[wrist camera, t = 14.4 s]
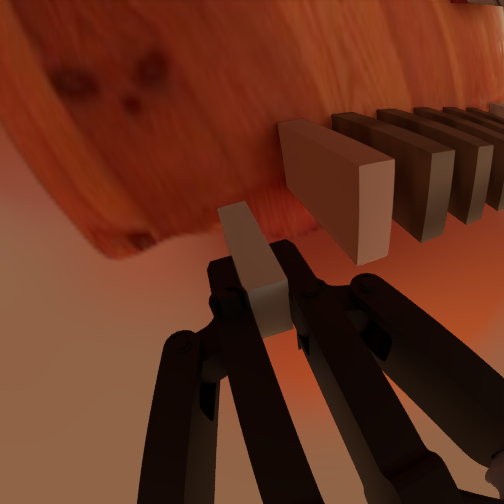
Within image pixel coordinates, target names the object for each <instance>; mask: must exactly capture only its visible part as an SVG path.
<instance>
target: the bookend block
mask: <svg viewBox="0 0 504 504" xmlns="http://www.w3.org/2000/svg"><path fill="white" fill-rule="evenodd" d="M490 113H491V114H494V115H496V116H499V117H501V118H504V104H500V103H492V102H490Z"/></svg>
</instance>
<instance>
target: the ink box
mask: <svg viewBox="0 0 504 504" xmlns="http://www.w3.org/2000/svg"><path fill="white" fill-rule="evenodd" d="M451 2H452V3H472V4H485V5H495V6H503V7H504V0H451Z"/></svg>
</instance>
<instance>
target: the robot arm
mask: <svg viewBox="0 0 504 504" xmlns="http://www.w3.org/2000/svg"><path fill="white" fill-rule="evenodd" d="M217 210H218V214H219V217H220V221H221V225H222V229H223V232H224V236H225V240H226V243H227V247H228V251H229V254H230V256H228V257H224V258H221V259H217V260H214V261H210V263H209V266H208V268H207V272H208V278H209V283H210V288H211V293H212V294H211V296H210V298H209V306H210V308H211V311H212V313H213V315H214V318H213V320H212V321H211V322H210V324H209V325H208V326H206V327H205V328H203V329H202V330H200V331H198V332H197V333H194V332H192V331H189V330H182V331H178V332H176V333H174V334H172V335H171V336H170V337H169V338H168V339H167V340H166V342H165V344H164V347H163V352H162V356H161V361H160V366H159V370H158V375H157V380H156V385H155V390H154V395H153V400H152V406H151V411H150V417H149V423H148V428H147V434H146V441H145V447H144V453H143V460H142V468H141V475H140V483H139V490H138V499H137V504H214V494H215V469H216V447H217V428H218V410H219V393H220V380H221V379H223V378H224V377H226V376H228V378H229V383H230V387H231V391H232V395H233V398H234V403H235V407H236V410H237V414H238V418H239V422H240V426H241V429H242V433H243V437H244V440H245V444H246V447H247V451H248V454H249V458H250V462H251V465H252V468H253V472H254V475H255V479H256V482H257V485H258V488H259V492H260V495H261V498H262V501H263V504H325V503H324V502H323V499H322V497H321V494H320V492H319V489H318V487H317V484H316V482H315V479H314V477H313V474H312V471H311V469H310V466H309V464H308V461H307V459H306V456H305V453H304V451H303V448H302V445H301V443H300V440H299V438H298V435H297V432H296V430H295V427H294V424H293V422H292V419H291V416H290V414H289V411H288V408H287V406H286V403H285V400H284V398H283V395H282V392H281V389H280V387H279V384H278V382H277V379H276V376H275V373H274V370H273V367H272V365H271V362H270V359H269V356H268V354H267V351H266V348H265V345H264V343H263V340H262V339H263V338H266V337H269V336H272V335H275V334H279V333H282V332H284V331H288V330H291V329H293V324H294V326H295V328H296V330H297V340H298V348H299V350H300V349H301V347H302V349H303V352H304V354H305V356H306V358H307V361H308V362H309V365H310V367H311V369H312V372H313V374H314V376H315V378H316V380H317V383H318V385H319V387H320V389H321V392H322V394H323V396H324V398H325V400H326V403H327V405H328V407H329V409H330V412H331V414H332V416H333V418H334V421H335V423H336V425H337V427H338V429H339V432H340V434H341V436H342V438H343V441H344V443H345V445H346V447H347V450H348V452H349V454H350V456H351V459H352V461H353V463H354V465H355V468H356V470H357V472H358V474H359V476H360V479H361V481H362V484H363V487H364V494H365V497H366V500H367V502H368V504H504V378H503V377H502V376H501V375H500V374H499V373H497V372H496V371H495V370H494V369H493V368H492V367H491V366H490V365H488V364H487V363H486V362H485V361H484V360H483V359H482V358H480V357H479V356H478V355H477V354H476V353H475V352H473V351H472V350H471V349H470V348H469V347H468V346H466V345H465V344H464V343H463V342H462V341H460V340H459V339H458V338H457V337H456V336H454V335H453V334H452V333H451V332H450V331H448V330H447V329H446V328H445V327H443V326H442V325H441V324H440V323H439V322H437V321H436V320H435V319H434V318H432V317H431V316H430V315H429V314H427V313H426V312H425V311H424V310H422V309H421V308H420V307H418V306H417V305H416V304H414V303H413V302H412V301H411V300H409V299H408V298H407V297H406V296H404V295H403V294H402V293H400V292H399V291H398V290H396V289H395V288H394V287H392V286H391V285H390V284H388V283H387V282H386V281H384V280H383V279H382V278H380V277H379V276H377V275H375V274H370V273H364V274H359V275H357V276H355V277H354V278H353V279H352V281H351V283H350V285H344V286H331V285H327V284H326V283H325V282H324V281H323V280H320V279H318V278H316V276H315V275H314V273H313V272H312V270H311V269H310V267H309V266H308V264H307V263H306V261H305V260H304V258H303V257H302V255H301V254H300V253H299V251H298V249H297V248H296V246H295V245H294V244H293V243H292V242H290V241H288V240H287V239H284V240H281V241H277V242H274V243H270V244H268V242H267V240H266V238H265V236H264V235H263V233H262V231H261V229H260V227H259V225H258V224H257V222H256V220H255V218H254V216H253V214H252V213H251V211H250V209H249V207H248V205H247V204H246V202H245V201H242V202H238V203H235V204H231V205H227V206H224V207H220V208H217ZM382 371H383V372H384V373H385V374H386V375H387V376H389V377H390V379H391V380H393V382H395V383H396V385H398V386H399V388H401V389H402V390H403V391H404V392H405V393H406V394H407V395H408V396H409V397H410V398H411V399H412V400H413V401H414V402H415V403H416V404H417V405H418V406H419V407H420V408H421V409H422V410H423V411H424V412H425V413H426V414H427V415H428V416H429V417H430V418H431V419H432V420H433V421H434V422H435V423H436V424H437V425H438V426H439V427H440V428H441V429H442V430H443V431H444V432H445V433H446V434H447V435H448V436H449V437H450V438H451V439H452V440H453V442H454V443H456V445H457V446H459V448H461V449H462V451H463V452H465V453H466V454H467V455H468V456H469V457H470V458H472V459H473V460H474V461H476V462H477V463H479V464H481V465H483V466H485V467H487V468H489V469H488V470H487V472H486V475H485V480H486V481H487V482H488V483H491V484H492V485H493V486H494V487H496V488H497V489H498V491H499V494H500V499H497V498H492V497H488V496H483V495H479V494H475V493H472V492H468V491H464V490H461V489H458V488H457V486H456V484H455V482H454V480H453V478H452V476H451V474H450V472H449V470H448V468H447V466H446V465H445V463H444V461H443V460H442V458H441V457H440V456H439V455H438V454H436V453H434V452H432V451H430V450H428V449H427V448H426V446H425V445H424V443H423V442H422V440H421V438H420V436H419V434H418V433H417V431H416V429H415V427H414V425H413V423H412V422H411V420H410V418H409V416H408V415H407V413H406V411H405V409H404V408H403V406H402V404H401V403H400V401H399V399H398V397H397V395H396V394H395V392H394V390H393V389H392V387H391V385H390V383H389V382H388V380H387V378H386V377H385V375H384V374H383V372H382Z"/></svg>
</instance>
